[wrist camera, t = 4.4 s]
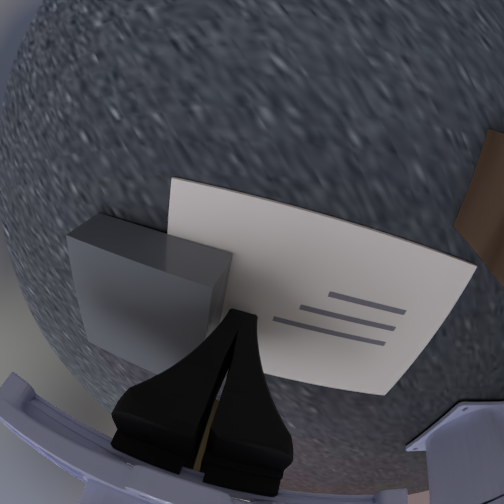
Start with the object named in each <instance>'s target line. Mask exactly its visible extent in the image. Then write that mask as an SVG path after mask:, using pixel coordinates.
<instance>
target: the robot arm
mask: <svg viewBox="0 0 504 504" xmlns="http://www.w3.org/2000/svg"><path fill="white" fill-rule="evenodd" d="M257 321H258V317H257V315H255V314H251V313H248V312H244V311H240V310H237V309H233V308H232V309H230V310H229V311H228V313H227V315H226V316H225V317H224V319H223V320H222V321H221V323H220V324H219V325H218V326H217V327H216V329H215V330H214V331H213V332H212V333H211V334H210V335H209V336H208V337H207V338H206V339H205V340H204V341H203V342H202V343H201V344H200V345H199V346H198V347H197V348H195V349H194V350H193V351H192V352H191V353H189V354H188V355H187V356H186V357H184V358H183V359H182V360H180V361H179V362H177V363H176V364H174V365H173V366H172V367H170V368H168V369H167V370H165V371H163V372H162V373H160V374H158V375H156V376H154V377H152V378H151V379H148V380H146V381H144V382H142V383H140V384H137V385H135V386H133V387H130V388H129V389H128V390H127V391H126V392H125V393H124V394H123V396H122V397H121V398H120V400H119V401H118V403H117V404H116V406H115V408H114V410H113V412H112V418H113V421H114V423H115V425H116V427H117V431H116V433H115V435H114V437H113V438H111V437H109V436H107V435H105V434H103V433H101V432H99V431H97V430H95V429H93V428H91V427H89V426H87V425H86V424H84V423H82V422H80V421H78V420H77V419H75V418H73V417H71V416H70V415H68V414H66V413H65V412H63V411H61V410H60V409H58V408H57V407H55V406H53V405H52V404H50V403H49V402H47V401H46V400H44V399H42V398H41V397H40V396H38V395H37V394H36V393H35V391H34V389H33V388H32V387H31V386H30V385H29V384H28V383H27V382H26V381H25V380H23V379H22V378H21V377H19V376H18V375H17V374H15V373H14V372H12V373H11V374H10V376H9V377H8V378H7V379H6V381H5V382H4V383H3V385H2V386H1V387H0V420H1V421H2V422H3V423H4V424H5V425H6V426H7V427H8V428H9V429H10V430H11V431H12V432H13V433H14V434H16V435H17V436H18V437H19V438H21V439H22V440H23V441H24V442H26V443H27V444H28V445H30V446H31V447H32V448H34V449H35V450H37V451H38V452H39V453H40V454H42V455H43V456H45V457H46V458H48V459H49V460H50V461H52V462H53V463H55V464H56V465H58V466H59V467H61V468H62V469H64V470H65V471H67V472H69V473H70V474H72V475H74V476H75V477H77V478H78V479H80V480H82V481H83V482H85V483H87V484H86V486H85V488H84V490H83V492H82V494H81V497H80V499H79V501H78V503H77V504H408V503H407V489H392V490H384V491H380V492H378V493H376V494H375V495H334V494H318V493H306V492H297V491H288V490H281V489H279V485H280V479H282V477H283V472H284V470H285V469H286V468H287V467H288V466H289V465H290V464H291V463H292V461H293V444H292V438H291V435H290V433H289V431H288V430H287V428H286V426H285V425H284V423H283V421H282V419H281V417H280V415H279V413H278V411H277V409H276V406H275V404H274V402H273V399H272V397H271V395H270V392H269V389H268V386H267V383H266V380H265V376H264V372H263V368H262V364H261V359H260V353H259V346H258V336H257ZM228 368H229V369H228ZM227 371H228V374H227V379H226V383H225V386H224V389H223V392H222V395H221V398H220V401H219V404H218V406H217V409H216V412H215V415H214V418H213V421H212V424H211V427H210V431H209V435H208V440H207V444H206V448H205V451H204V454H203V458H202V461H201V467H200V472H199V471H195V470H193V468H194V465H195V462H196V458H197V455H198V452H199V449H200V446H201V442H202V439H203V436H204V433H205V430H206V426H207V423H208V420H209V417H210V414H211V411H212V407H213V404H214V401H215V399H216V396H217V394H218V392H219V389H220V387H221V385H222V382H223V380H224V378H225V375H226V373H227ZM405 448H406V451H426V458H427V467H428V479H429V494H430V504H504V401H501V402H460V403H458V404H457V405H456V406H454V407H453V408H452V409H451V410H450V411H449V412H448V413H447V414H446V415H444V416H443V417H442V418H441V419H440V420H439V421H437V422H436V423H435V424H434V425H433V426H431V427H430V428H429V429H428V430H426V431H425V432H424V433H423V434H421V435H420V436H419V437H418V438H416V439H415V440H414V441H412V442H411V443H410V444H408V445H407V446H406V447H405ZM127 463H130V464H131V465H129V464H127ZM132 465H134V466H132ZM232 497H233V498H232ZM236 498H238V499H236ZM240 499H243V500H248V501H250V502H247V501H243V500H240Z"/></svg>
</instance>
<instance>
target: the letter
mask: <svg viewBox="0 0 504 504" xmlns="http://www.w3.org/2000/svg"><path fill="white" fill-rule="evenodd" d="M167 234H169V235H172V236H176V237H179V238H182V239H186V240H189V241H192V242H195V243H199V244H202V245H205V246H209V247H212V248H215V249H218V250H222V251H225V252H228V253H232V254H233V256H232V261H231V266H230V272H229V277H228V282H227V288H226V293H225V298H224V304H223V309H222V315H221V320H220V323H221V321H222V320H223V319H224V317H225V316H226V315H227V313H228V311H229V310H230V309H232V308H233V309H237V310H240V311H244V312H248V313H251V314H255V315H257V317H258V321H257V336H258V346H259V353H260V359H261V364H262V368H263V372H264V373H266V374H270V375H274V376H278V377H283V378H287V379H291V380H296V381H301V382H306V383H310V384H316V385H321V386H326V387H332V388H337V389H343V390H349V391H356V392H362V393H370V394H377V395H386V393H387V392H388V391H389V390H390V389H391V388H392V387H393V386H394V385H395V383H396V382H397V381H398V380H399V379H400V378H401V376H402V375H403V374H404V373H405V372H406V371H407V369H408V368H409V367H410V366H411V364H412V363H413V362H414V361H415V359H416V358H417V357H418V356H419V354H420V353H421V352H422V351H423V349H424V348H425V347H426V345H427V344H428V343H429V341H430V340H431V339H432V337H433V336H434V334H435V333H436V332H437V330H438V329H439V327H440V326H441V325H442V323H443V322H444V320H445V319H446V317H447V316H448V314H449V313H450V311H451V310H452V308H453V307H454V305H455V303H456V302H457V300H458V299H459V297H460V295H461V294H462V292H463V291H464V289H465V287H466V285H467V284H468V282H469V280H470V279H471V277H472V275H473V273H474V272H475V270H476V268H477V266H476V264H473V263H471V262H468V261H466V260H463V259H460V258H457V257H455V256H452V255H449V254H447V253H444V252H441V251H438V250H435V249H432V248H430V247H427V246H424V245H421V244H418V243H415V242H412V241H409V240H406V239H403V238H400V237H397V236H394V235H391V234H388V233H385V232H382V231H379V230H375V229H372V228H369V227H366V226H363V225H359V224H356V223H353V222H349V221H346V220H343V219H339V218H336V217H332V216H329V215H326V214H322V213H319V212H315V211H311V210H308V209H304V208H301V207H297V206H293V205H290V204H286V203H282V202H278V201H274V200H271V199H267V198H263V197H259V196H255V195H251V194H247V193H243V192H239V191H235V190H230V189H226V188H222V187H218V186H213V185H209V184H205V183H200V182H196V181H191V180H186V179H182V178H177V177H173V178H172V181H171V191H170V203H169V216H168V231H167Z"/></svg>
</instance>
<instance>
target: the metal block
mask: <svg viewBox="0 0 504 504" xmlns="http://www.w3.org/2000/svg"><path fill="white" fill-rule="evenodd" d="M66 238H67V245H68V252H69V258H70V264H71V270H72V275H73V280H74V285H75V290H76V295H77V299H78V304H79V308H80V312H81V316H82V320H83V324H84V328H85V331H86V335H87V338H88V341H89V342H91V343H93V344H95V345H97V346H98V347H100V348H102V349H104V350H106V351H108V352H110V353H112V354H114V355H116V356H118V357H120V358H122V359H124V360H126V361H129V362H131V363H133V364H135V365H137V366H139V367H142V368H144V369H146V370H148V371H151V372H153V373H155V374H160V373H162V372H163V371H165V370H167V369H168V368H170V367H172V366H173V365H174V364H176V363H177V362H179V361H180V360H182V359H183V358H184V357H186V356H187V355H188V354H189V353H191V352H192V351H193V350H194V349H195V348H197V347H198V346H199V345H200V344H201V343H202V342H203V341H204V340H205V339H206V338H207V337H208V336H209V335H210V334H211V333H212V332H213V331H214V330H215V329H216V327H217V326H218V325H219V324H220V320H221V315H222V309H223V304H224V298H225V293H226V288H227V282H228V277H229V272H230V266H231V261H232V256H233V254H232V253H228V252H225V251H222V250H218V249H215V248H212V247H209V246H205V245H202V244H199V243H195V242H192V241H189V240H186V239H182V238H179V237H176V236H172V235H169V234H166V233H163V232H159V231H156V230H153V229H150V228H146V227H143V226H140V225H137V224H133V223H130V222H127V221H124V220H121V219H117V218H114V217H111V216H108V215H104V214H101V213H99V214H97V215H96V216H94V217H93V218H91V219H90V220H88V221H86V222H85V223H83V224H82V225H80V226H79V227H77V228H76V229H74V230H73V231H71V232H70V233H68V234H67V235H66Z"/></svg>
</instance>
